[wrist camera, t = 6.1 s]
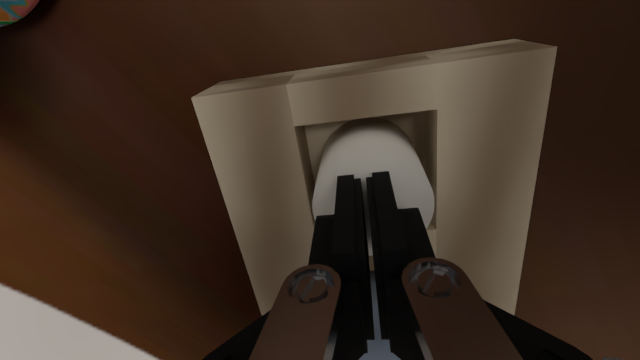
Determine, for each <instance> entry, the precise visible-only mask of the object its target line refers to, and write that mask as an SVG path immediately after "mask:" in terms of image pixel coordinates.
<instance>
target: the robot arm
mask: <svg viewBox="0 0 640 360" xmlns="http://www.w3.org/2000/svg"><path fill="white" fill-rule="evenodd" d="M366 185H367V196H368V207H369V218H370V230H371V241H372V252H373V262H374V272H375V282H376V292H377V302H378V312H379V322H380V332H381V340H389V342H390V351H391V353H393V354H395V355H396V356H397V357H398V358H400V359H401V360H593V359H591V358H590V357H589V356H588V355H586V354H585V353H583V352H582V351H580V350H579V349H577V348H575V347H574V346H572V345H570V344H568V343H566V342H564V341H562V340H560V339H558V338H556V337H554V336H552V335H551V334H549V333H547V332H545V331H543V330H541V329H539V328H537V327H535V326H533V325H531V324H529V323H527V322H526V321H524V320H522V319H520V318H518V317H516V316H514V315H512V314H510V313H508V312H506V311H504V310H502V309H500V308H499V307H497V306H495V305H493V304H491V303H489V302H487V301H485V300H483V299H482V297H481V296H480V294H479V293H478V291H477V290H476V288H475V287H474V285H473V284H472V282H471V281H470V279H469V278H468V276H467V275H466V273H465V272H464V271H463V270H462V269H461V268H460V267H459V266H457V265H456V264H454V263H452V262H450V261H447V260H445V259H441V258H436V257H435V254H434V251H433V248H432V245H431V242H430V240H429V237H428V234H427V231H426V228H425V225H424V222H423V219H422V216H421V213H420V211H419V208H405V209H398V208H397V204H396V200H395V196H394V191H393V187H392V183H391V179H390V174H389V171H383V172H373V173H372V177H366ZM367 340H375V335H374V321H373V307H372V294H371V280H370V266H369V252H368V242H367V233H366V223H365V214H364V204H363V195H362V186H361V178H356V179H354V174H353V175H342V176H337V187H336V199H335V211H334V214H331V215H319V216H316V221H315V226H314V232H313V238H312V244H311V250H310V256H309V262H308V265H307V266H303V267H300V268H298V269H296V270H295V271H293V272H292V273H291V274H289V275H288V276H287V277H286V279H285V281H284V282H283V284H282V286H281V288H280V291H279V293H278V295H277V297H276V300H275V302H274V304H273V306H272V309H271V310H270V311H268V312H267V313H266V314H264V315H263V316H261V317H260V318H259V319H257V320H256V321H254V322H253V323H252V324H250V325H249V326H247V327H246V328H245V329H243V330H242V331H240V332H239V333H238V334H236V335H235V336H233V337H232V338H231V339H229V340H228V341H226V342H225V343H224V344H222V345H221V346H219V347H218V348H217V349H215V350H214V351H212V352H211V353H210V354H208V355H207V356H206V357H205V358H203V359H202V360H359V359H360V358H361V357H362V356H363V355H364V354H365V353H368V346H367ZM603 360H622V359H616V358H610V357H604V358H603Z"/></svg>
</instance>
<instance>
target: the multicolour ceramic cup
mask: <svg viewBox="0 0 640 360" xmlns="http://www.w3.org/2000/svg"><path fill="white" fill-rule="evenodd" d="M39 1H40V0H0V27H2V26H6V25H9V24H12V23H14V22H16V21H18V20H20V19H22V18H23V17H25V16H26V15H27V14H28V13H29V12H31V11H32V10H33V8H34V7H35V6H36V5H37V4H38V2H39Z"/></svg>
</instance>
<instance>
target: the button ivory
mask: <svg viewBox="0 0 640 360" xmlns="http://www.w3.org/2000/svg"><path fill="white" fill-rule="evenodd" d="M383 171H389V174H390V179H391V183H392V187H393V191H394V196H395V200H396V204H397V208H398V209H405V208H419V211H420V213H421V216H422V219H423V222H424V225H425V228H426V229H427V227H428V225H429V224H430V221H431V219H432V216H433V212H434V204H435V202H434V194H433V190H432V187H431V185H430V183H429V180H428V178H427V176H426V174H425V171H424V169H423V167H422V165H421V162H420V160H419V158H418V156H417V153H416V151H415V149H414V146H413V144H412V142H411V140H410V138H409V137H408V135H407V134H406V133H405V132H404V131H403V130H402V129H401V128H400V127H399V126H397V125H396V124H394V123H392V122H390V121H387V120H385V119H381V118H374V117H369V118H361V119H355V120H352V121H349V122H347V123H345V124H343V125H342V126H340V127H339V128H338V129H336V130H335V131H334V132H333V133H332V134H331V136H330V137H329V138H328V140H327V142H326V144H325V146H324V149H323V152H322V157H321V161H320V166H319V171H318V175H317V180H316V185H315V190H314V194H313V199H312V210H313V215H314V219H315V221H316V216H319V215H331V214H334V211H335V199H336V187H337V176H342V175H353V174H354V179H356V178H361V186H362V195H363V204H364V214H365V223H366V233H367V242H368V252H369V256H373V252H372V241H371V230H370V218H369V207H368V196H367V185H366V177H372V173H373V172H383Z"/></svg>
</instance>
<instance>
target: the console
mask: <svg viewBox="0 0 640 360" xmlns="http://www.w3.org/2000/svg"><path fill="white" fill-rule="evenodd" d="M556 52H557V46H551V45H546V44H540V43H535V42H529V41H524V40H518V39H510V40H503V41H496V42H489V43H482V44H475V45H468V46H462V47H455V48H448V49H441V50H434V51H427V52H420V53H413V54H407V55H400V56H393V57H386V58H379V59H372V60H365V61H358V62H352V63H345V64H338V65H331V66H324V67H317V68H310V69H303V70H297V71H290V72H283V73H276V74H269V75H262V76H255V77H248V78H242V79H235V80H228V81H221V82H219V83H217V84H215V85H214V86H212V87H210V88H208V89H206V90H204V91H203V92H201V93H199V94H197V95H195V96H193V97H192V98H191V99H192V102H193V105H194V108H195V112H196V115H197V118H198V121H199V124H200V127H201V130H202V133H203V136H204V139H205V142H206V145H207V148H208V152H209V155H210V158H211V161H212V164H213V167H214V170H215V173H216V176H217V179H218V182H219V185H220V188H221V192H222V195H223V198H224V201H225V204H226V207H227V210H228V213H229V216H230V219H231V222H232V225H233V229H234V232H235V235H236V238H237V241H238V244H239V247H240V250H241V253H242V256H243V259H244V262H245V265H246V269H247V272H248V275H249V278H250V281H251V284H252V287H253V290H254V293H255V296H256V299H257V302H258V305H259V309H260V312H261V315H262V316H263V315H264V314H266V313H267V312H268V311H270V310H271V309H272V306H273V304H274V302H275V300H276V297H277V295H278V293H279V291H280V288H281V286H282V284H283V282H284V281H285V279H286V277H287V276H288V275H289V274H291V273H292V272H293V271H295V270H296V269H298V268H300V267H303V266H307V265H308V262H309V256H310V250H311V244H312V238H313V232H314V226H315V219H314V215H313V210H312V199H313V194H314V190H315V185H316V180H317V175H318V171H319V166H320V161H321V157H322V152H323V149H324V146H325V144H326V142H327V140H328V138H329V137H330V136H331V134H332V133H333V132H334V131H335V130H336V129H338V128H339V127H340V126H342V125H343V124H345V123H347V122H349V121H352V120H355V119H361V118H369V117H374V118H381V119H385V120H387V121H390V122H392V123H394V124H396V125H397V126H399V127H400V128H401V129H402V130H403V131H404V132H405V133H406V134H407V135H408V137H409V138H410V140H411V142H412V144H413V146H414V149H415V151H416V153H417V156H418V158H419V160H420V162H421V165H422V167H423V169H424V171H425V174H426V176H427V178H428V180H429V183H430V185H431V187H432V190H433V194H434V202H435V204H434V212H433V216H432V219H431V221H430V224H429V225H428V227H427V229H426V231H427V234H428V237H429V240H430V242H431V245H432V248H433V251H434V254H435V257H436V258H441V259H445V260H447V261H450V262H452V263H454V264H456V265H457V266H459V267H460V268H461V269H462V270H463V271H464V272H465V273H466V275H467V276H468V278H469V279H470V281H471V282H472V284H473V285H474V287H475V288H476V290H477V291H478V293H479V294H480V296H481V297H482V299H483V300H485V301H487V302H489V303H491V304H493V305H495V306H497V307H499V308H500V309H502V310H504V311H506V312H508V313H510V314H512V315H514V314H515V308H516V302H517V296H518V289H519V283H520V277H521V271H522V264H523V258H524V252H525V246H526V239H527V233H528V227H529V221H530V215H531V208H532V202H533V196H534V190H535V183H536V177H537V171H538V165H539V158H540V152H541V146H542V140H543V133H544V127H545V121H546V115H547V108H548V102H549V96H550V90H551V83H552V77H553V71H554V65H555V58H556ZM369 266H370V271H374V262H373V256H369Z"/></svg>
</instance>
